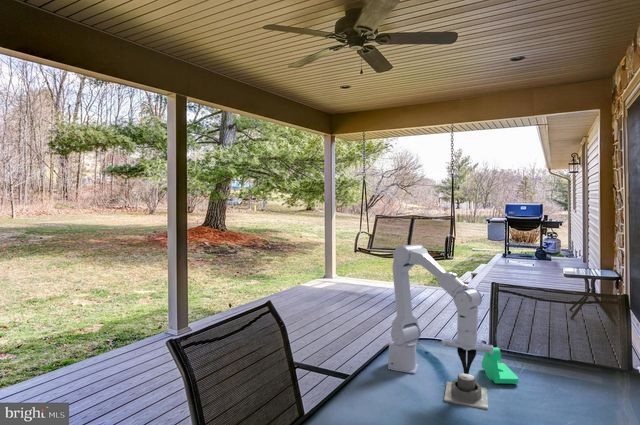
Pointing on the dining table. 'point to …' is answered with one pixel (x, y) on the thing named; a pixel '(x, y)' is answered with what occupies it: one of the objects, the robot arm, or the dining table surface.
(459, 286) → the robot arm
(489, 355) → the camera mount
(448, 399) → the white square plate
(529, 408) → the dining table surface
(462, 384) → the gray cylindrical peg
